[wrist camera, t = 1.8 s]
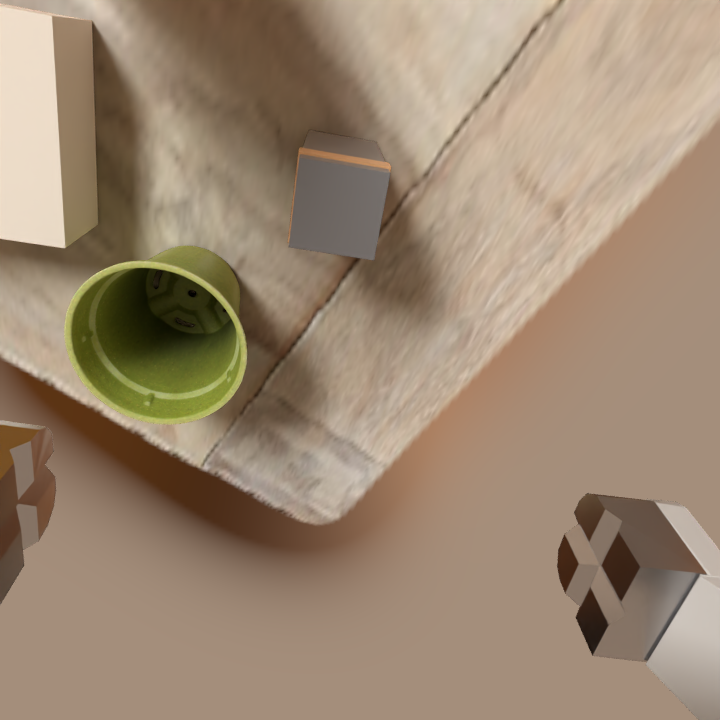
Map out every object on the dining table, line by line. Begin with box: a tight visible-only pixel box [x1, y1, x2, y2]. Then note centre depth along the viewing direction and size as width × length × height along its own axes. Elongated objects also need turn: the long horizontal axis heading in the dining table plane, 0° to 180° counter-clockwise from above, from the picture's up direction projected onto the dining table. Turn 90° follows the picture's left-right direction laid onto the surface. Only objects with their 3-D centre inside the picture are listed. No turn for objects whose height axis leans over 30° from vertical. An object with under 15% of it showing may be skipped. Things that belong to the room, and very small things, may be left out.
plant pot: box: [64, 246, 248, 424], centre depth 35 cm, size 9×9×9 cm
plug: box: [288, 130, 391, 260], centre depth 31 cm, size 4×4×10 cm
